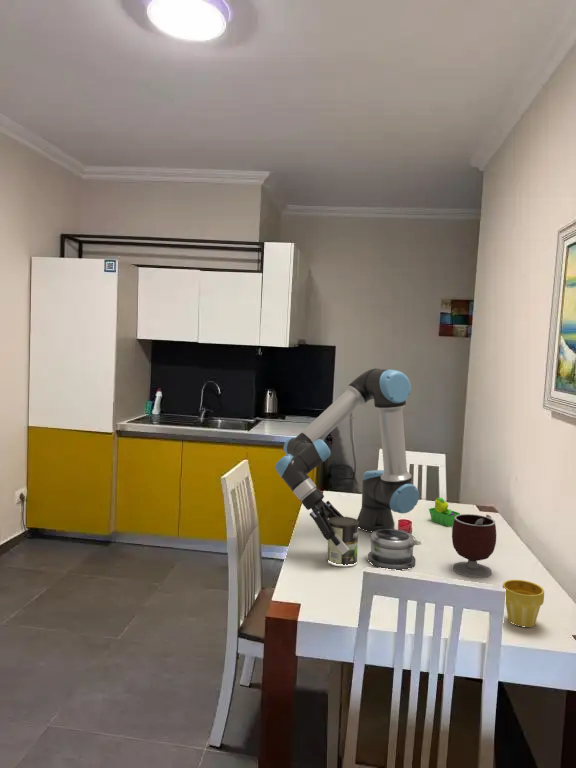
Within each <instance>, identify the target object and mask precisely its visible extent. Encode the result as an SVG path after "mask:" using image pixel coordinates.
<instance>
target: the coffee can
mask: <svg viewBox="0 0 576 768" xmlns="http://www.w3.org/2000/svg"><path fill="white" fill-rule="evenodd" d="M328 520H329V522H330V525H331V527H332V529H333V531H334V533H335V534H336V533H337V535H338V536H339V537H340V538H341V540H342V541H343V542H344V543H345V545H346V546H347V547H348V549H349V550H348V551H347V552H346V553H344V554H343V555H342V553H341V552H340V551H339V550H338V548H337V547H336V546H335V545H334V543H333V542H332V541H331V539H329V540H327V552H326V553H327V554H326V555H327V557H326V560H327V559H328V560H329V561H331V562H333V563H336V564H343V565H345V564H346V565H348V564H354V563H356V562H357V563H358V547H359V543H358V542H359V541H358V539H359V528H358V525H359V521H358V520H357V519H356V518H354V517H348V516H343V517H332V518H330V519H329V518H328Z"/></svg>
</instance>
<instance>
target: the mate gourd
mask: <svg viewBox="0 0 576 768" xmlns="http://www.w3.org/2000/svg"><path fill="white" fill-rule="evenodd" d="M491 518H492V517H491ZM491 518H489V517H486V515H479V514H473V513H472V514H471V513H462V514H461V513H460V515H457V516H455V518H454V523H453V526H451V527H452V528H451V539H452V540H451V541H452V546H453V548H454V550H455V552H456V554H457V555H459V556H460V557H462V558H463V559H466V560H467V561H459V562H455V563H453V564H452V570H453V571H454V572H455V573H457V574H458V575H461V576H464V577H469V578H474V579H483V578H484V579H485V578H488V577H490V576H492V569H491V568H490V567H489V566H486V565H484V564H482V563H481V564H480V563H478V561H483V560H487V559H489V557H491V555H493V553H494V551H495V548H496V545H497V525H496V521H495V520H494V518H492V519H491Z"/></svg>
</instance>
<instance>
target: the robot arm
mask: <svg viewBox="0 0 576 768" xmlns="http://www.w3.org/2000/svg"><path fill="white" fill-rule="evenodd" d="M345 390H346V391H345V392H343V393H341V395H340V396H339V397H338V398H336V400H335V401H334V402H332V403H331V404H330V405H329V406H328V407H327V408H326V409H325V410H324V411H323V412H322V413H320V414H319V416H317V417H316V418H315V419H314V420H313V421H312V422H311V423H309V425H308V426H306V427H305V428H304V430H303V431H301V432H300V433H299V434H298V435H297V436H295V437H290V438H288V439H286V440H285V442H284V444H283V452H284V453H285V455H284V456H282V458H279V460H278V461H277V462H276V463H275V465H274V469H275V470H276V471H277V474H278V475H279V476H280V478H282V480H283V481H284V482H285V483H286V485H287V486H288V487H289V488H290V490H291V491H292V492H293V494H294V496H295V497H297V498H298V500H299V501H301V504H302V505H303V507H304V508H305V509H306V511H307V510H308V511H309V510H311V512H310V513H309V516H310V517H311V518H312V519H313V521H314V523H315V524H316V526H317V527H318V529H319V531H320V533H321V534H322V536H323V538H324V539H326V541H328V540H329V539H331V541H332V542H333V543H334V545H335V546H336V547H337V548H338V550H339V551H340V552H341V553H342V555H343V554H344V553H346V552H347V551H348V550H349V549H348V547H347V546H346V545H345V543H344V542H343V541H342V540H341V538H340V537H339V536H338V535H337V533H336V534H335V533H334V531H333V529H332V527H331V525H330V522H329V520H328V519H330V518H332V517H344V516H343V514H341V513H340V511H338V509H337V508H335V507H334V505H333V504H332V503H331V502H330V500H326V502H325V501H324V500H323V499H324V498H325V495H324V494H323V493H322V491H321V490H320V489H319V488H317V485H316V484H315V482H314V481H313V480H312V479H311V477H310V476H309V475H308V474H309V473H311V472H312V471H313V470H314V469H315V468H317V467H318V466H320V465H322V463H324V462H326V460H327V459H329V458H330V457H331V454H332V453H331V449H330V448H329V446H328V445H327V443H326V442H325V441H324V439H325V438H326V437H328V435H329V434H331V432H333V430H335V429H336V428H337V427H338V426H339V425H340V424H341V423H343V421H344V420H346V418H347V417H348V416H349V415H351V414H352V413H353V412H354V411H355V410H356V409H357V408H358V407H359V406H365V404H366V403H368V402H369V401H371V400H373V403H374V404H373V405H374V409H376V410H377V411H378V412H379V413H378V414H379V415H378V416H379V425H380V437H381V439H380V440H381V450H382V452H381V453H382V461H383V463H382V464H383V470H382V469H379V470H378V469H377V470H376V469H374V470H367V471H364V473H363V474H362V486H361V487H362V488H361V491H362V492H361V493H362V494H361V508H360V511H359V513H358V517H357V519H356V520H358V521H359V525H358V527H360V528H361V529H364V530H367V531H372V532H373V531H376V530H380V529H395V527H396V526H395V519H394V517H393V513H392V512H394V513H399V514H407V513H409V512H411V511H412V510H414V508H415V507H416V506H417V505H418V502H419V500H420V499H419V498H420V492H419V488H417V487H416V485H414V484H413V479H412V474H411V473H410V472H408V467H407V465H408V463H407V453H406V439H405V430H404V428H405V427H404V415H403V414H404V413H403V409H404V408H405V406H406V405H407V400H408V399H409V396H410V395H411V391H412V384H411V381H410V379H409V377H408V376H407V375H406V374H405V373H404V372H402V371H400V370H396V369H392V368H391V369H388V368H387V369H386V368H385V369H384V368H377V367H375V368H371V369H368V370H366V371H364V372H363V373H361V374H360V375H358V376H357V377H356V378H355V379H354V380H352V381H351V382H350V383H349V384H348V385H346V387H345ZM361 529H360V530H361ZM367 531H366V532H367ZM372 532H371V533H372ZM359 541H360V539H359V538H358V542H359Z"/></svg>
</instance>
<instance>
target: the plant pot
mask: <svg viewBox="0 0 576 768" xmlns="http://www.w3.org/2000/svg"><path fill="white" fill-rule="evenodd" d="M502 587H503V588H505V589H506V602H505V607H506V614H507V620H508V619H509V620H508V622H509V621H510V622H512V623H514V624H516V625H519V626H525V627H530V628H533V627H534V626H536V622H537V618H538V615H539V612H540V608H541V606H542V605H544V603H545V602H544V601H545V590H544V588H543V586H540V585H539V584H537V583H535V582H532V581H529V580H524V579H507V580H506V581H504V582H503V583H502ZM510 622H509V623H510ZM532 626H533V627H532Z"/></svg>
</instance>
